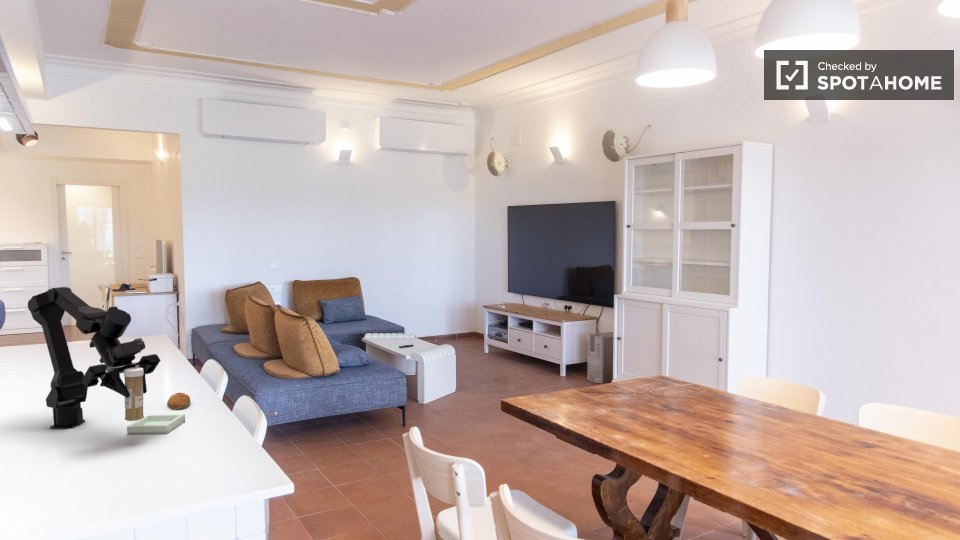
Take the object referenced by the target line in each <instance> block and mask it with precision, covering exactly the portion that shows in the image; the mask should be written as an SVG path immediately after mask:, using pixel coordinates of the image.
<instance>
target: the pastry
mask: <svg viewBox="0 0 960 540" xmlns="http://www.w3.org/2000/svg"><path fill="white" fill-rule="evenodd" d="M190 398H191V397H190V395H188V394H186V393H185V392H175V393H174V394H171V396H170V397H168V399H167V401H166V404H167V407H168V408H169V409H171V410H172V409H173V410H174V411H175V410H178V409H186V408H188V407H189V406H190V405H191V404H190V403H191V399H190ZM187 406H188V407H187Z"/></svg>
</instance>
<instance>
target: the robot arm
mask: <svg viewBox="0 0 960 540" xmlns="http://www.w3.org/2000/svg"><path fill="white" fill-rule="evenodd" d="M27 309H28V311H29V312H30V314H31V317H32V320H34V321H35V322H36V323H38V324H39V325H40V326H41V329H42V331H43V335H44V338H45V339H44V340H45V343H46V346H47V350H48V354H49V358H50V361H51V365H52V368H53V372H54V373H53V376H52V379H51V381H50V391H49V393H48V395H47V396H46V398H45V403H46V407H47V408H51V409H52V415H53V417H52V418H53V424H52V425H50V426H49V428H50V429H69V428H70V429H71V428H74V427H76V426H79V425H81V424H83V423H85V421H86V419H84V415H83V413H84V412H83V407H82V406H81V405H82V404H81V403H85V402H86V401H87V396H88V388H91V387H94V386H95V387H96V386H97V385H98V383H99V381H101V382H100V384H99V386H100V387H105V388H107V389H109V390H111V391H114V392H116V393H118V394H119V395H121V396H123V397H124V398H125V397H126V398H129V396H130V394H129V392H128V390H127V388H126V386H125V382H123V380H122V378H121V374H124V370H125V369H127V368H143V371H144V375H143V395H145V394H146V393H147V391H148V389H147V381H146V380H147V379H146V375H149V374H152V373H154V371H155V370H156V368H157V367H158V365H159V364H160V362H161V359H160V357H159V356H158V355H157V354H156V353H152V354H148V355H147V354H146V355H142V356H141V358H140V359H139V361H137V362H133V361H134V360H135V359H136V357H137V356H135V355H137V354H138V353H142V351H143V350H145V349H146V344H145V341H144V340H143V338H141V337H140V338H135V339H134V340H132V341H126V342H121V341H120V340H119V338H121V337H122V336H123V335H124V333H125V332H126V330H127V328H128V327H129V326H130V324H131V321H132V316H131V315H130V313H128V312H127V311H125V310H123V309H119V308H118V307H117V306H109V307H108V309H107V310H104V309H103V308H100V307H93V306H92V305H89V304H88V303H87V302H85V301H84V300H83V299H81V298H80V297H79V296H78V295H77V294H75V293H74V292H73V291H72V288H70V287H69V286H59V287H51V288H49V289H47V290H46V291H44V292H41V293H39V294H36V295H33V296H32V297H30V299H29V300H28V301H27ZM65 312H66V313H67V314H68V315H70V316H71V317H72V318H73V319H75V321H76V322H75V327H76V328H77V329H78V330H79V332H80V333H81V334H83V335H90V334H91V335H92V334H93V335H92V337H91V339H90V343H89V348H95V349H96V351H97V352H98V355H99V356H100V358H99V362H100V364H96V365H89V367H88V368H87V370H86V371H85V373H84V372H83V370H79V371H78V370H77V369H76V368H75V367H74V364H73V361H72V357H71V352H70V349H69V345H68V342H67V338H66V333H65V331H64V327H63V324H62V319H63V316H64V314H65ZM99 379H100V380H99Z"/></svg>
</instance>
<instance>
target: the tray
mask: <svg viewBox="0 0 960 540" xmlns="http://www.w3.org/2000/svg"><path fill="white" fill-rule="evenodd" d="M185 422H186V414H181V413H180V414H179V413H178V414H147V415H146V414H145V416H144V418H142V419H140V420H137V421H134V422H133V423H131V424H129V425H128V426H127V427H126V433H127V435H168V434H169V433H171V432H172V431H174V430H175V429H176V428H178V427H179V426H181V425H183V424H184V423H185ZM182 423H183V424H182Z"/></svg>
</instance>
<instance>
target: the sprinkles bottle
mask: <svg viewBox="0 0 960 540" xmlns="http://www.w3.org/2000/svg"><path fill="white" fill-rule="evenodd" d="M143 375H144V371H143V368H127V369H125V370H124V373H123V377H124V385H125V386H126V388H127V390H128V392H129V394H130V396H129V398H126V397H124V411H125V412H124V414H125V416H124V420H125V421H127V422H133V421H134V422H136V421H138V420H140V419H142V418H144V417H145V416H144V393H143Z"/></svg>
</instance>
